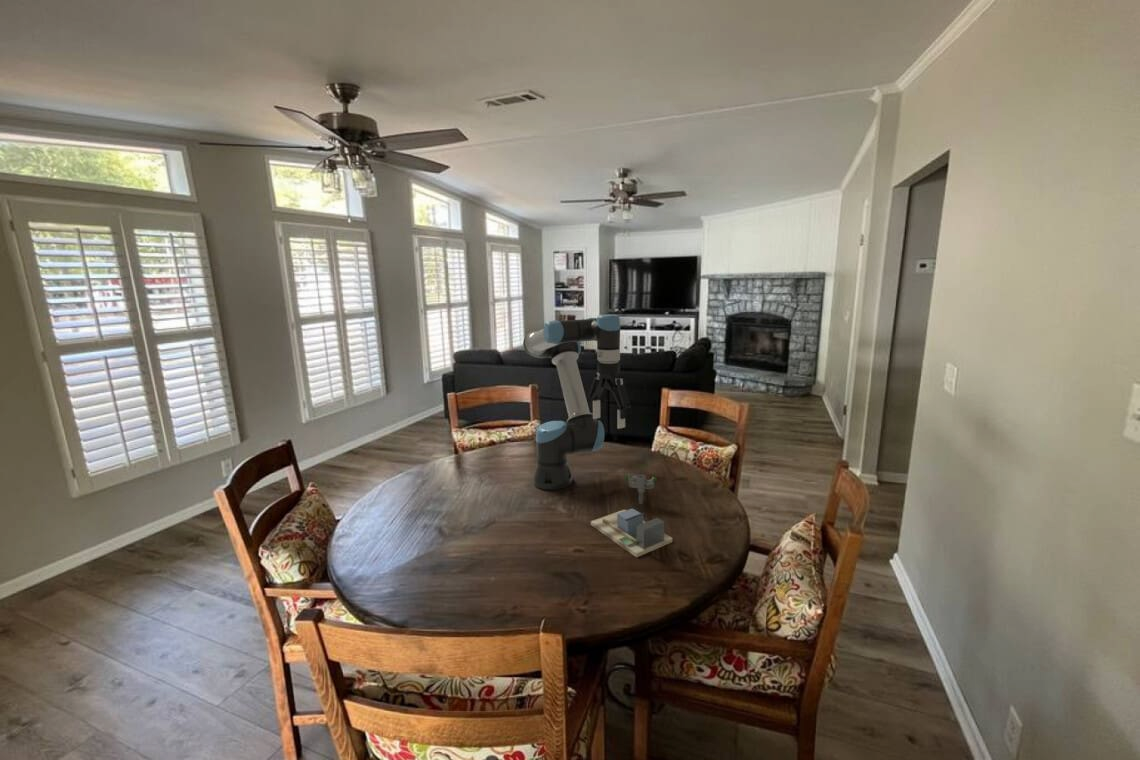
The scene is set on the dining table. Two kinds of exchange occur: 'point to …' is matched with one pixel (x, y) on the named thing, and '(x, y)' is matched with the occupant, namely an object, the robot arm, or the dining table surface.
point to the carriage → (629, 520)
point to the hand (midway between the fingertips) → (608, 422)
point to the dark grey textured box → (650, 533)
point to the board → (624, 535)
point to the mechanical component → (640, 484)
